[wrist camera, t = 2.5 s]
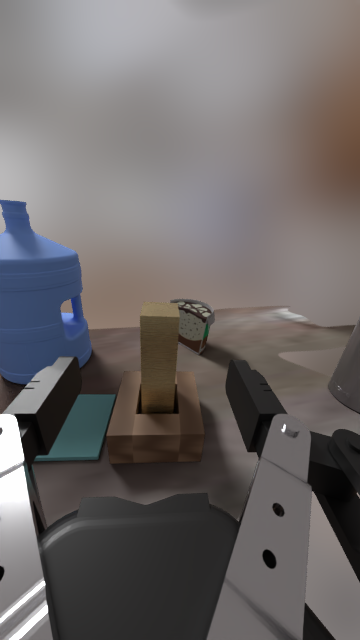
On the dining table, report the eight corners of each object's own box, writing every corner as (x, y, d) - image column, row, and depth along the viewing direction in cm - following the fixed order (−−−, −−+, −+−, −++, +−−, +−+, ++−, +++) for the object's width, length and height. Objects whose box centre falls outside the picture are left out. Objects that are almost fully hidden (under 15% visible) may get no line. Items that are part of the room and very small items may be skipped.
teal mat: (115, 397, 34) (115, 394, 34) (98, 459, 25) (97, 456, 25) (52, 397, 34) (51, 394, 33) (10, 461, 25) (9, 458, 24)
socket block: (190, 395, 36) (193, 371, 34) (200, 461, 26) (205, 434, 24) (125, 394, 35) (124, 370, 33) (109, 463, 25) (106, 435, 23)
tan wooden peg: (170, 411, 32) (177, 303, 25) (171, 435, 29) (179, 317, 21) (144, 412, 32) (143, 301, 25) (142, 436, 29) (139, 315, 21)
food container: (220, 348, 50) (227, 310, 46) (204, 358, 46) (209, 317, 42) (184, 329, 58) (187, 295, 54) (167, 336, 54) (169, 299, 50)
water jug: (2, 401, 32) (-83, 189, 20) (0, 353, 43) (-56, 196, 31) (103, 366, 41) (85, 205, 30) (80, 333, 52) (60, 206, 40)
